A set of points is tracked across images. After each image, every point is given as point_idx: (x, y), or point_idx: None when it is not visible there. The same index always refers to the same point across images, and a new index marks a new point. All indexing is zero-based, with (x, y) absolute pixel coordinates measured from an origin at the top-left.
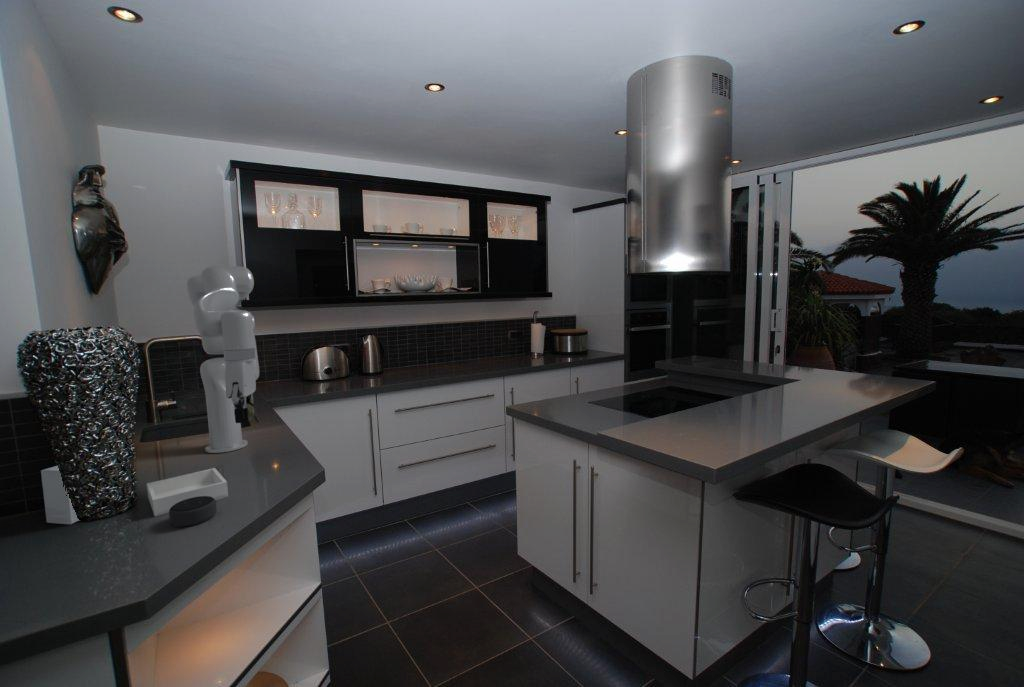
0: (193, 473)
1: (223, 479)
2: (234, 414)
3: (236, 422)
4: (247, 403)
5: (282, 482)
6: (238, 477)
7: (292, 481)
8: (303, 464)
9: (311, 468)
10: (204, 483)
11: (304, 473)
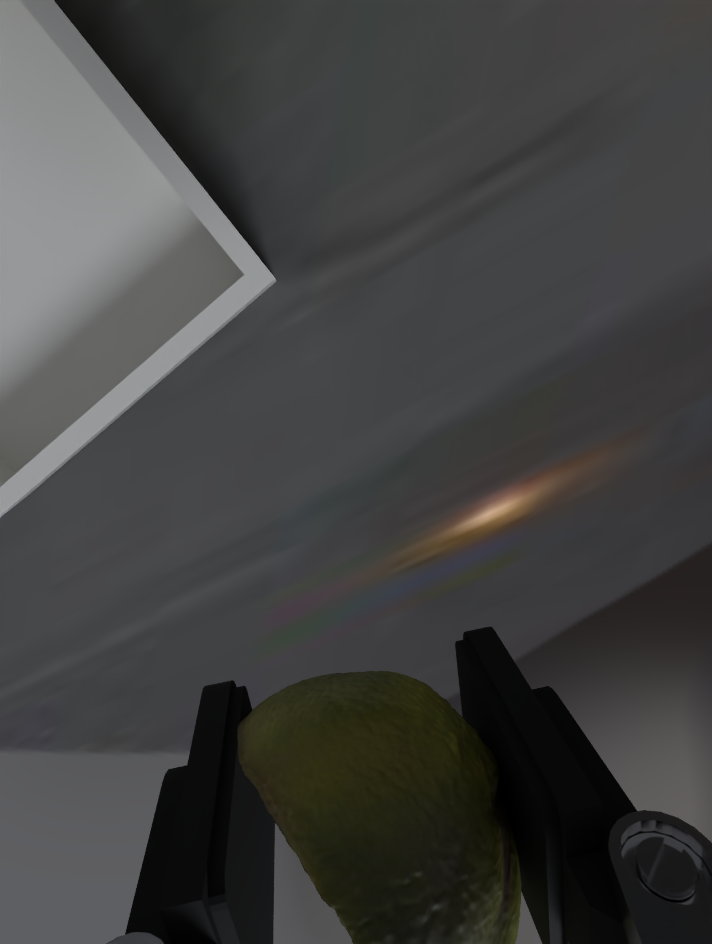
0: (160, 167)
1: (26, 483)
2: (253, 740)
3: (208, 694)
4: (581, 941)
5: (225, 660)
6: (336, 387)
7: None
8: None
9: None
10: (200, 245)
11: None
